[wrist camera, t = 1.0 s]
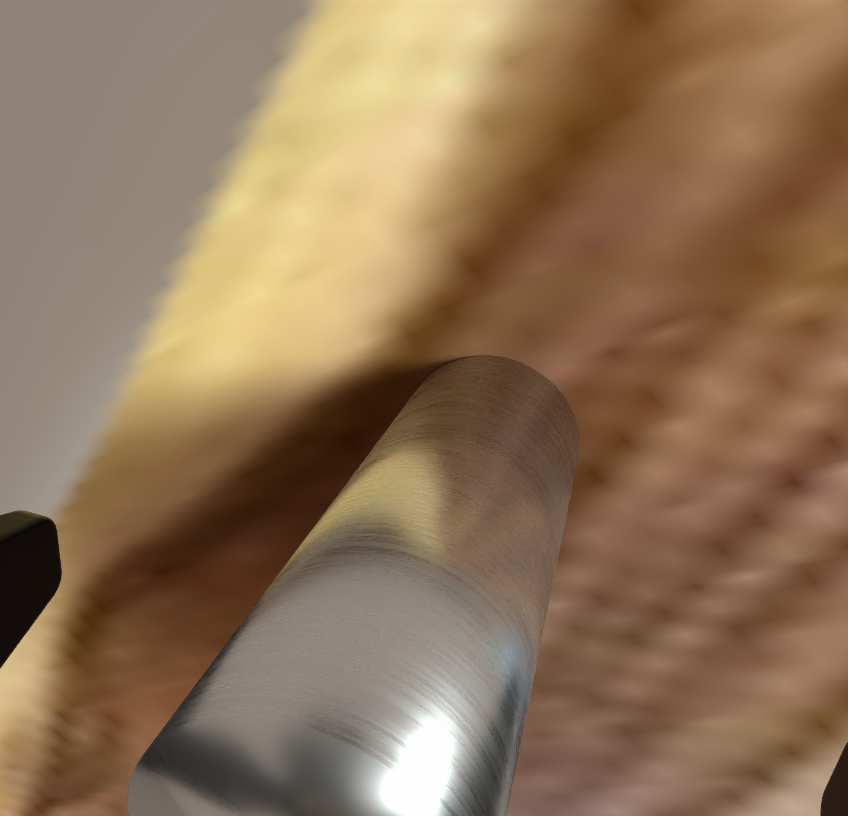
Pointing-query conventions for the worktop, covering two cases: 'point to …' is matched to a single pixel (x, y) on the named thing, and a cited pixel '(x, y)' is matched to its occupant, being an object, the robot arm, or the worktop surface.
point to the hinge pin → (392, 624)
